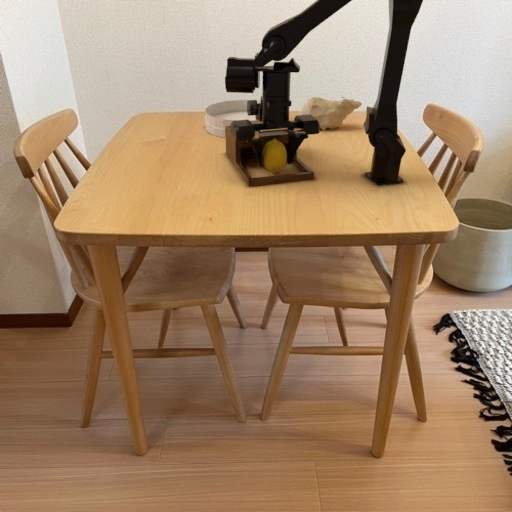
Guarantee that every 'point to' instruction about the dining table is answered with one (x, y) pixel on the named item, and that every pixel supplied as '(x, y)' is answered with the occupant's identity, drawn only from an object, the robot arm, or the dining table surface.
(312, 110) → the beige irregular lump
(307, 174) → the step shelf
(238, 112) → the dish
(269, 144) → the lemon
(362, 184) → the dining table surface
